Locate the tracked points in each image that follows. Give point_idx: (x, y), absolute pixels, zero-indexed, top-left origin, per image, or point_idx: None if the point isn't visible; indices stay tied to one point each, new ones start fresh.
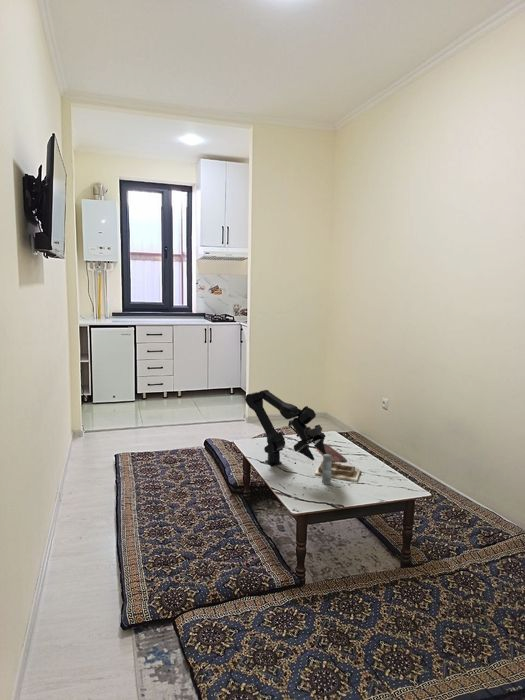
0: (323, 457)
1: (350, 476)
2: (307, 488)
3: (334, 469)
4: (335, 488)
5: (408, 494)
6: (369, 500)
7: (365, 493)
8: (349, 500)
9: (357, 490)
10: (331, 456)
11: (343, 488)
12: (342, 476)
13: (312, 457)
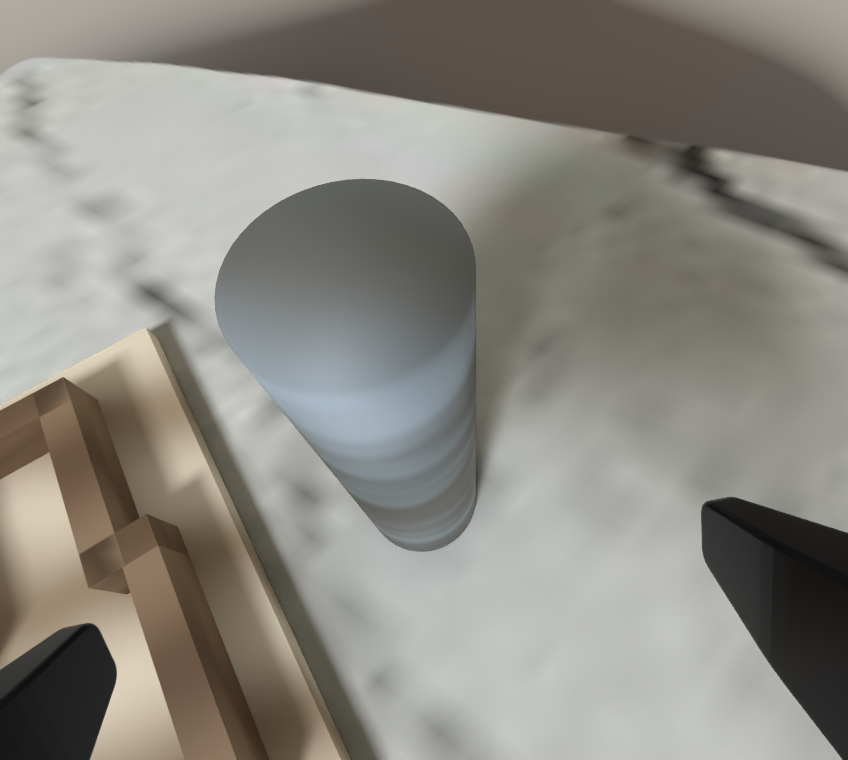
0: (467, 333)
1: (114, 411)
2: None
3: None
4: None
5: (110, 68)
6: (381, 105)
7: (309, 173)
8: (509, 154)
9: None
10: (298, 200)
11: None
12: (176, 460)
13: (811, 532)
